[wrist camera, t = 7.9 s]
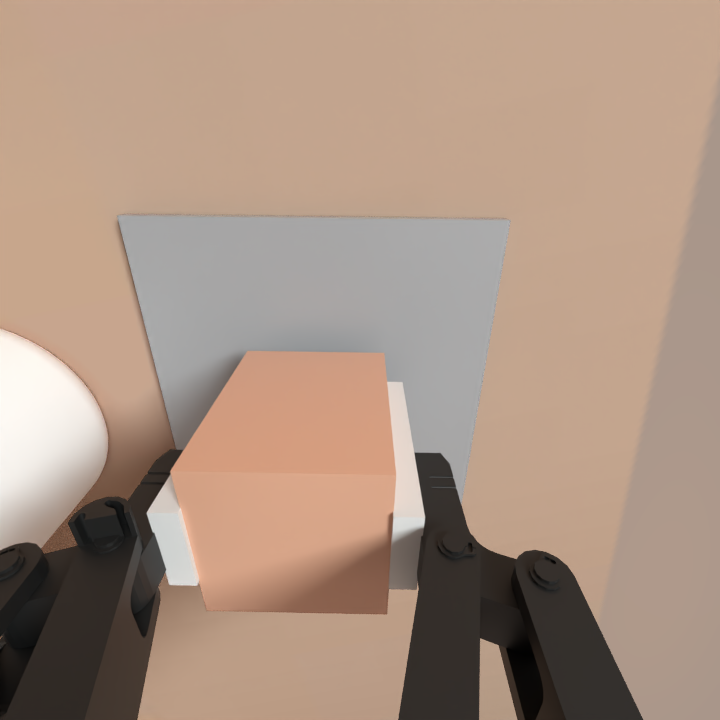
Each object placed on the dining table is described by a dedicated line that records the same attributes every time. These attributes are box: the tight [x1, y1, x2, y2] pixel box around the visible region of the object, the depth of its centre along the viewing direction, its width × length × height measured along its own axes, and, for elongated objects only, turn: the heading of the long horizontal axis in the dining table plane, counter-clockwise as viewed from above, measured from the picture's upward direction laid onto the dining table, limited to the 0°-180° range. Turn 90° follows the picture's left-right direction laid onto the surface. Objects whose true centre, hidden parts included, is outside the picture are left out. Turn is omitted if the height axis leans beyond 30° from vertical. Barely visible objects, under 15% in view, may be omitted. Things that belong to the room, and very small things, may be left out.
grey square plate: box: [117, 214, 510, 503], centre depth 15 cm, size 14×14×7 cm
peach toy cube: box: [170, 351, 396, 614], centre depth 13 cm, size 5×5×7 cm
